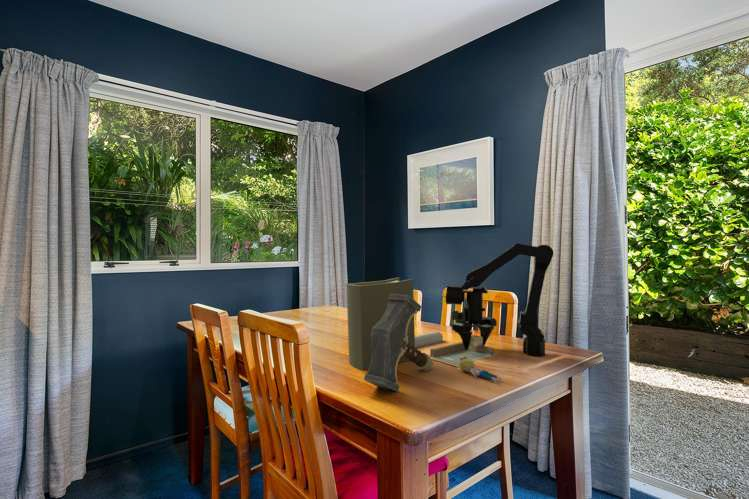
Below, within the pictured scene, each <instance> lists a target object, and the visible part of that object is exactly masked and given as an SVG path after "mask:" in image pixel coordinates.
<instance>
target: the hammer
mask: <svg viewBox="0 0 749 499" xmlns="http://www.w3.org/2000/svg"><path fill="white" fill-rule="evenodd" d="M413 298H414V297H413ZM413 298H412V297H411V296H408V295H399V294H390V295H389V304H388V307H387V309H386V311H385V313H384V315H383V316H382V318H381V319H380V321H379V322H378V323H377V324H376V325H375V326H374V327H373V328H372V332H371V342H372V353H371V361H370V366H369V369H367V373H365V375H364V376H363V380H364V381H366V382H367V383H369V384H371V385H373V386H375V387H377V388H381V389H385V390H389V391H393V392H397V393H399V392H400V385H399V379H398V376H397V371H398V370H397V369H398V364H399V363H400V362H399V359H400V357H401V356H404V357H405V358H407V359H409V361H408V362H410V363H413V364H414V365H415V367H416V368H418V369H419V370H420V371H421V370H422V371H423V372H427V371H430V370H431V369H432V368H433V365H434V362H433V360H432V359H433V358H431V357H429V356H430V355H428V354H427V353H425V352H422V351H421V350H419V349H417V348H415V347H413V346H412V345H411V344H408V336H407V331H408V325H409V322H410V320H411V318H412V317H413V316H414V317H415V315H416V314H418V312H420V311H421V309H422V305H421V304H420V303H418V302H417V301H416V300H415V299H413Z"/></svg>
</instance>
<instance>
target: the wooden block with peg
mask: <svg viewBox="0 0 749 499" xmlns="http://www.w3.org/2000/svg"><path fill="white" fill-rule="evenodd" d="M468 351H472V352H479V351H486V352H490V353H491V355H493V352H494V353H495V348H494V347H490V346H486V345H484V346H483V337H481V335H480V336H479V335H475V334H472V335H471V340H470V345H469V348H468Z"/></svg>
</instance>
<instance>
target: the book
mask: <svg viewBox="0 0 749 499" xmlns="http://www.w3.org/2000/svg"><path fill="white" fill-rule="evenodd" d="M390 294H399V295H408V296H411V297H412V298H413V299H414V280H413V278H409V279H403V280H401V279H400V277H398V276H397V277H393V278H389V279H385V280H384V279H383V280H376V281H375V280H374V281H364V282H354V283H346V303H347V304H346V305H347V310H346V312H347V332H348V333H347V336H348V338H347V339H348V363H349V365H350V366H351V367H353V368H355V369H358V370H361V371H364V370H365V371H366V370H369V366H370V361H371V353H372V342H371V332H372V328H373V327H374V326H375V325H376V324H377V323H378V322H379V321H380V319H381V318H382V316H383V315H384V313H385V311H386V309H387V307H388V304H389V295H390ZM414 300H415V299H414ZM407 336H408V344H411V345H412V346H413V347H415V336H416V335H415V315H414V316H413V317H412V318H411V320H410V322H409V325H408V331H407ZM401 362H410V361H409V359H407V358H405V357H404V356H401V357H400V359H399V362H398V363H401Z"/></svg>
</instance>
